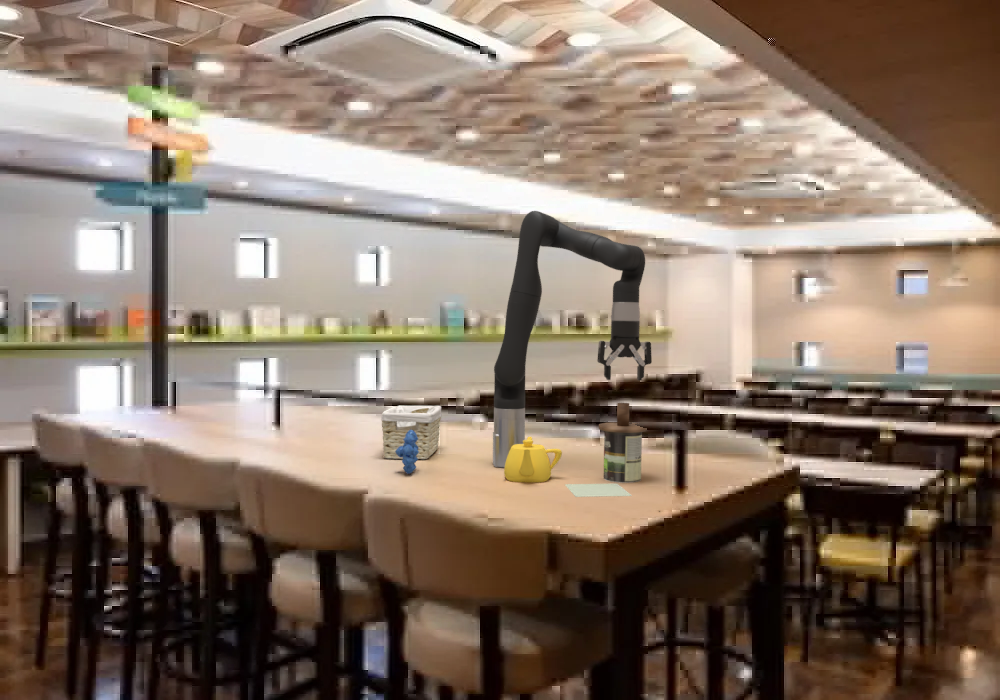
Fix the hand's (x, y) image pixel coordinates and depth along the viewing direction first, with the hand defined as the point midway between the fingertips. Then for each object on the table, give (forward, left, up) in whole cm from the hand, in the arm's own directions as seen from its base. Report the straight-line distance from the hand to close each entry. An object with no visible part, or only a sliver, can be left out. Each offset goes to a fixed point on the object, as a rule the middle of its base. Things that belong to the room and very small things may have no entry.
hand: (624, 379), depth 204 cm
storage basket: (-57, +46, -28) cm, 78 cm away
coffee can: (0, 0, -28) cm, 28 cm away
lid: (0, 0, -13) cm, 13 cm away
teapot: (-24, +3, -28) cm, 37 cm away
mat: (-10, -13, -27) cm, 32 cm away
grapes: (-58, +15, -28) cm, 66 cm away
